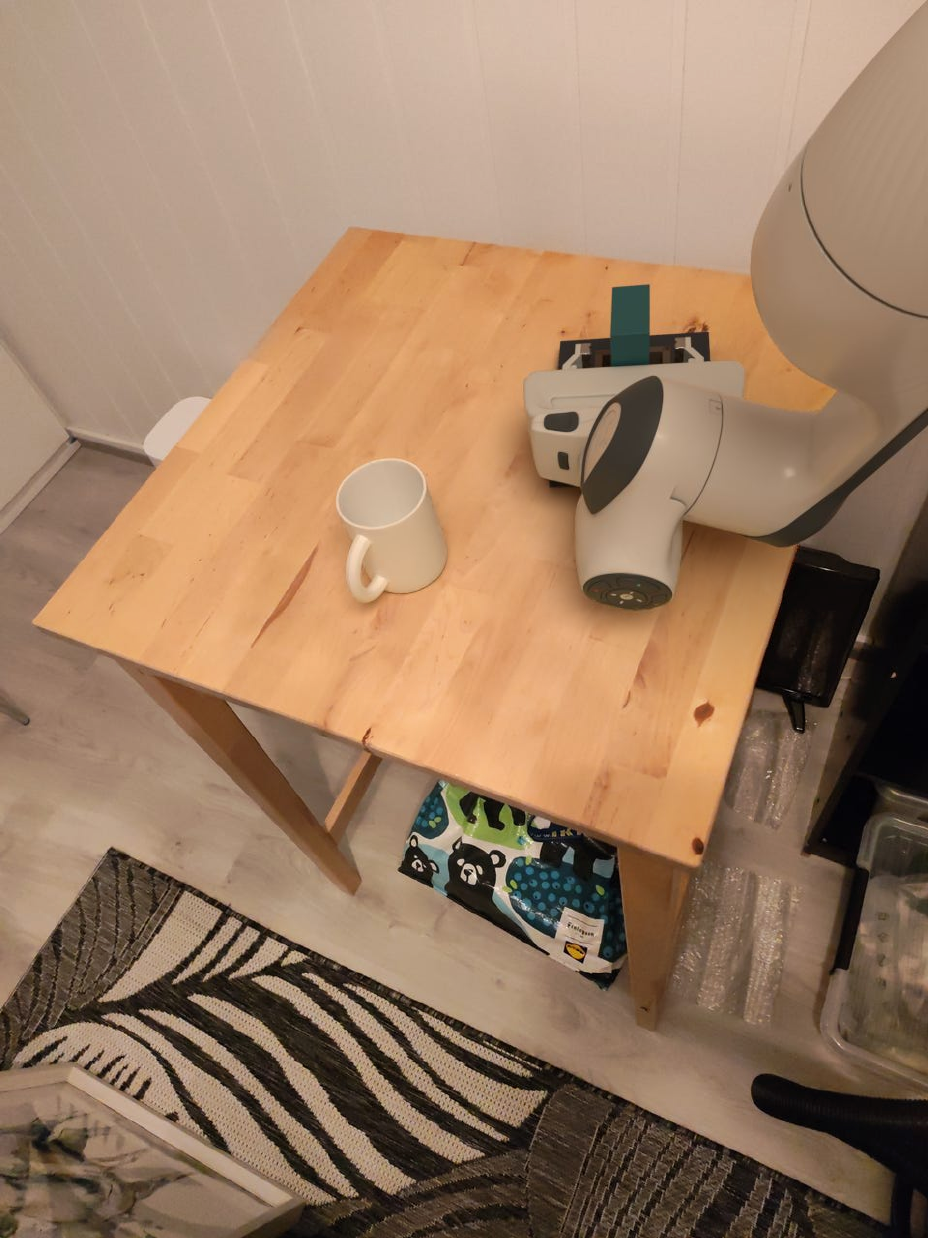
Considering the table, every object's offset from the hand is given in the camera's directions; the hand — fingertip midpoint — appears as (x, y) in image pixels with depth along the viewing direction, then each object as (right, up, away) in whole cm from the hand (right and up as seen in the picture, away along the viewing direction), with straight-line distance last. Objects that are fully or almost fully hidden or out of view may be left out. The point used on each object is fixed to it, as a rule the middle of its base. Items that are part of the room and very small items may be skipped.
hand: (632, 345), depth 79 cm
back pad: (+1, -4, +4) cm, 6 cm away
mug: (-23, -23, 0) cm, 32 cm away
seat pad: (+1, -5, +6) cm, 8 cm away
